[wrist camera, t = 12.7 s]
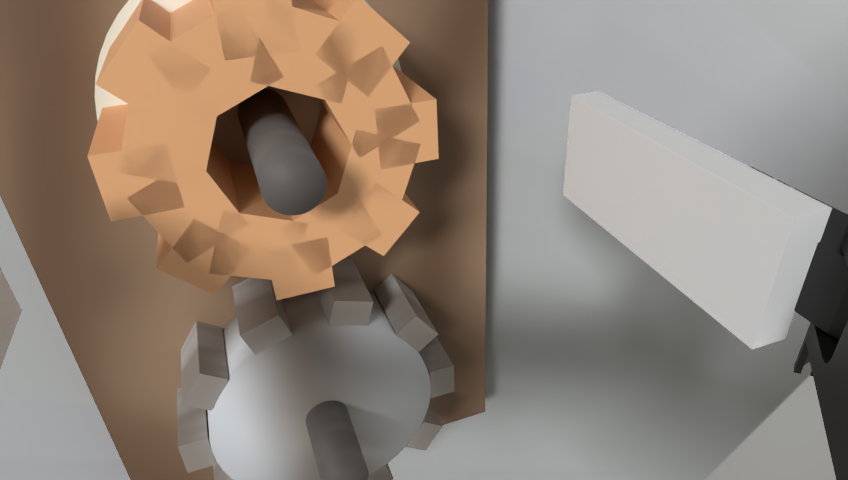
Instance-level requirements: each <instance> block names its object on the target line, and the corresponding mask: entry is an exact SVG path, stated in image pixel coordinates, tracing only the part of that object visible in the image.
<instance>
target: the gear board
mask: <svg viewBox="0 0 848 480" xmlns="http://www.w3.org/2000/svg"><path fill="white" fill-rule="evenodd" d="M140 1H141V0H0V196H1V198H2V200H3V203H4V205H5V207H6V209H7V211H8V213H9V216H10V218H11V220H12V222H13V224H14V227H15V229H16V231H17V233H18V235H19V237H20V240H21V242H22V244H23V246H24V248H25V250H26V253H27V255H28V257H29V259H30V261H31V264H32V266H33V268H34V270H35V272H36V274H37V277H38V279H39V281H40V283H41V285H42V287H43V290H44V292H45V294H46V296H47V298H48V301H49V303H50V305H51V307H52V309H53V311H54V314H55V316H56V318H57V320H58V322H59V325H60V327H61V329H62V331H63V333H64V335H65V338H66V340H67V342H68V344H69V346H70V348H71V351H72V353H73V355H74V357H75V359H76V362H77V364H78V366H79V368H80V370H81V372H82V375H83V377H84V379H85V381H86V383H87V385H88V388H89V390H90V392H91V394H92V396H93V399H94V401H95V403H96V405H97V407H98V409H99V412H100V414H101V416H102V418H103V420H104V422H105V425H106V427H107V429H108V431H109V433H110V436H111V438H112V440H113V442H114V444H115V446H116V449H117V451H118V453H119V455H120V457H121V460H122V462H123V464H124V466H125V468H126V470H127V473H128V475H129V477H130V479H131V480H392V479H393V477H392V474H391V471H390V469H389V466H388V462H389V461H391V460H392V459H393V458H394V457H395V456H397V455H398V454H399V453H400V452H401V451H402V450H403V449H404V448H405V447H410V448H416V449H421V450H426V449H427V447H428V446H429V445H430V443H431V442H432V440H433V439H434V438H435V436H436V435H437V433H438V432H439V430H440V429H441V428H442V425H444V424H447V423H451V422H454V421H457V420H460V419H463V418H466V417H469V416H472V415H475V414H479V413H482V412H485V343H486V217H487V92H488V0H363V1H364V2H366V3H367V4H368V5H369V6H370V7H371V8H372V9H373V10H375V11H376V12H377V13H378V14H379V15H380V16H381V17H382V18H383V19H385V20H386V21H387V22H388V23H389V24H390V25H391V26H392V27H393V28H395V29H396V30H397V31H398V32H399V33H400V34H401V35H402V36H404V37H405V38H406V39H407V40H408V41H409V42H410V43H409V45H408V46H407V47H406V49H405V50H404V51H403V52H402V54H401V55H400V56H399V58H398V59H397V60H396V62H395V63H394V64H393V65H392V66H394V67H396V68H397V69H398V70H399V71H401V72H402V73H403V74H404V75H406V76H407V77H408V78H410V79H411V80H412V81H413V82H415V83H416V84H417V85H419V86H420V87H421V88H422V89H424V90H425V91H426V92H428V93H429V94H430V95H431V96H433V97H434V98H435V99H436V100H437V127H438V154H439V159H434V160H429V161H424V162H419V163H414V166H413V169H412V172H411V175H410V178H409V181H408V184H407V187H406V190H405V194H406V195H407V196H408V198H409V199H410V200H411V201H412V203H413V204H414V205H415V207H416V208H417V209H418V210H419V212H420V213H419V214H418V215H417V216H416V217H415V219H414V220H413V221H412V222H411V224H410V225H409V226H408V227H407V228H406V230H405V231H404V232H403V233H402V235H401V236H400V237H399V238H398V239H397V241H396V242H395V243H394V244H393V245H392V247H391V248H390V249H389V250H388V252H387V253H386V254H385V255H384V256H382V255H381V254H379V253H377V252H376V251H374V250H372V249H371V248H369V247H367V246H366V245H365V246H364V247H362V248H360V249H359V250H357V251H355V252H354V253H352V254H351V255H349V256H347V257H346V258H344V259H342V260H341V261H339V262H338V263H336V264H334V265H333V266H332V271H333V278H334V284H335V287H330V288H326V289H322V290H318V291H314V292H310V293H306V294H302V295H297V296H293V297H289V298H285V299H281V300H276V296H275V292H274V288H273V284H272V281H271V280H268V279H258V278H248V277H238V276H230V277H229V279H228V280H227V281H226V282H225V284H224V285H223V286H222V288H221V289H220V290H219V292H218V293H217V294H216V295H214V294H211V293H209V292H207V291H205V290H202V289H200V288H198V287H196V286H194V285H191V284H189V283H187V282H185V281H183V280H180V279H178V278H176V277H174V276H171V275H169V274H167V273H165V272H163V271H160V270H158V269H157V250H158V232H157V231H156V230H155V228H154V227H153V226H152V225H151V224H150V223H149V222H148V221H147V220H146V219H145V218H144V217H143V216H137V217H132V218H127V219H122V220H116V221H111V220H110V218H109V215H108V212H107V209H106V207H105V204H104V201H103V198H102V196H101V193H100V190H99V187H98V185H97V182H96V179H95V176H94V173H93V171H92V168H91V165H90V162H89V160H88V157H87V156H88V152H89V149H90V146H91V143H92V139H93V136H94V133H95V130H96V127H97V123H98V120H99V117H100V114H101V110H102V108H103V107H110V106H117V105H124V104H128V103H126V102H124V101H122V100H121V99H119V98H117V97H116V96H114V95H112V94H111V93H109V92H107V91H106V90H104V89H102V88H101V87H99V86H97V85H96V82H97V79H98V77H99V74H100V72H101V69H102V66H103V64H104V61H105V58H106V56H107V53H108V51H109V48H110V46H111V45H112V43H113V42H114V40H115V39H116V37H117V36H118V34H119V33H120V31H121V30H122V28H123V27H124V25H125V24H126V22H127V21H128V19H129V18H130V16H131V15H132V13H133V12H134V10H135V9H136V7H137V6H138V4H139V3H140ZM152 1H154V2H155V3H157V4H158V5H159V6H161V7H162V8H164V9H165V10H166V11H168V12H169V13H171V12H173V11H175V10H176V9H178V8H180V7H181V6H183V5H185V4H187V3H188V2H190V1H192V0H152ZM321 106H322V103H321V101H320V99H319V98H316V97H312V96H308V95H304V94H299V93H295V92H291V91H287V90H283V89H279V88H275V87H271V86H267V87H266V88H264V89H262V90H261V91H259V92H257V93H255V94H254V95H252V96H250V97H249V98H247V99H245V100H244V101H242V102H240V103H239V104H237V105H235V106H234V107H232V108H230V109H229V110H227V111H225V112H224V113H222V114H220V115H218V116H217V118H216V123H215V128H214V134H213V139H212V140H213V141H214V142H215V144H216V145H217V146H218V148H219V149H220V150H221V152H222V153H223V154H224V156H225V157H226V158H227V160H230V161H235V162H241V163H246V164H252V165H253V168H254V171H255V174H256V178H257V181H258V184H259V187H260V191H261V194H262V197H263V199H264V201H265V202H266V204H267V205H268V206H269V207H270V208H271V209H273V210H274V211H276V212H278V213H281V214H284V215H300V214H304V213H306V212H309V211H310V210H312V209H314V208H315V207H316V206H317V205H318V204H319V203H320V202H321V200H322V199H323V197H324V195H325V192H326V188H327V179H326V175H325V172H324V170H323V168H322V167H321V165H320V163H319V161H318V159H317V158H316V156H315V154H314V152H313V150H312V149H311V147H310V146H311V144H312V140H313V136H314V132H315V129H316V125H317V121H318V117H319V113H320V110H321Z"/></svg>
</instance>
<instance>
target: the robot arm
mask: <svg viewBox="0 0 848 480" xmlns="http://www.w3.org/2000/svg"><path fill="white" fill-rule="evenodd" d="M563 195H564V196H565V197H566V198H567V199H569V200H570V201H571V202H572V203H573V204H575V205H576V206H577V207H578V208H580V209H581V210H582V211H583V212H584V213H586V214H587V215H588V216H589V217H591V218H592V219H593V220H594V221H595V222H597V223H598V224H599V225H600V226H602V227H603V228H604V229H605V230H606V231H608V232H609V233H610V234H611V235H613V236H614V237H615V238H616V239H618V240H619V241H620V242H621V243H622V244H624V245H625V246H626V247H627V248H629V249H630V250H631V251H632V252H633V253H635V254H636V255H637V256H638V257H640V258H641V259H642V260H643V261H644V262H646V263H647V264H648V265H649V266H651V267H652V268H653V269H654V270H655V271H657V272H658V273H659V274H660V275H662V276H663V277H664V278H665V279H666V280H668V281H669V282H670V283H671V284H673V285H674V286H675V287H676V288H677V289H679V290H680V291H681V292H682V293H684V294H685V295H686V296H687V297H688V298H690V299H691V300H692V301H693V302H695V303H696V304H697V305H698V306H699V307H701V308H702V309H703V310H704V311H706V312H707V313H708V314H709V315H710V316H712V317H713V318H714V319H715V320H717V321H718V322H719V323H720V324H721V325H723V326H724V327H725V328H726V329H728V330H729V331H730V332H731V333H732V334H734V335H735V336H736V337H737V338H739V339H740V340H741V341H742V342H743V343H745V344H746V345H747V346H748V347H750V348H751V349H752V350H753V349H756V348H759V347H762V346H765V345H768V344H771V343H774V342H778V341H781V340H784V339H786V336H787V333H788V330H789V328H790V325H791V322H792V319H793V316H794V314H795V311H796V312H797V313H798V314H800V315H801V316H803V317H804V318H806V319H807V320H808V321H810V322H811V323H810V326H809V328H808V331H807V334H806V336H805V339H804V342H803V344H802V347H801V349H800V352H799V355H798V357H797V360H796V363H795V367H794V372H795V373H801V371H802V368H803V366H804V365H805V364H807V363H808V362H810V363H811V368H812V371H811V374H810V376H813V377H814V381H815V386H816V390H817V395H818V399H819V403H820V408H821V412H822V417H823V422H824V426H825V431H826V435H827V440H828V444H829V448H830V453H831V457H832V462H833V466H834V471H835V475H836V480H848V215H847V214H845V213H843V212H841V211H839V210H837V209H835V208H833V207H831V206H829V205H827V204H825V203H823V202H821V201H819V200H817V199H815V198H813V197H811V196H809V195H807V194H805V193H803V192H801V191H799V190H797V189H795V188H794V189H793V188H791V187H790V186H789V185H787V184H785V183H783V182H781V181H779V180H775V179H773V177H771V176H769V175H767V174H765V173H763V172H761V171H759V170H757V169H755V168H753V167H750V166H747V165H745V164H743V163H741V162H739V161H737V160H735V159H733V158H731V157H729V156H727V155H725V154H723V153H721V152H719V151H717V150H715V149H713V148H711V147H709V146H707V145H705V144H703V143H701V142H699V141H697V140H695V139H693V138H691V137H689V136H687V135H685V134H683V133H682V132H680V131H678V130H676V129H674V128H672V127H670V126H668V125H666V124H664V123H662V122H660V121H658V120H656V119H654V118H652V117H650V116H648V115H646V114H644V113H642V112H640V111H638V110H636V109H634V108H632V107H630V106H628V105H626V104H624V103H622V102H620V101H618V100H616V99H614V98H612V97H610V96H608V95H606V94H604V93H602V92H600V91H595V92H589V93H583V94H577V95H572V97H571V108H570V119H569V131H568V142H567V153H566V165H565V176H564V187H563ZM21 311H22V310H21V308H20V306H19V304H18V302H17V300H16V298H15V296H14V294H13V292H12V290H11V288H10V286H9V284H8V282H7V280H6V278H5V276H4V274H3V272H2V270H1V268H0V368H1V365H2V363H3V360H4V357H5V354H6V352H7V349H8V346H9V343H10V341H11V338H12V335H13V333H14V330H15V327H16V324H17V322H18V319H19V316H20V313H21Z"/></svg>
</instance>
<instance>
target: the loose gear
mask: <svg viewBox="0 0 848 480" xmlns="http://www.w3.org/2000/svg"><path fill="white" fill-rule="evenodd" d="M409 43H410V42H409V41H408V40H407V39H406V38H405V37H404V36H402V35H401V34H400V33H399V32H398V31H397V30H396V29H395V28H393V27H392V26H391V25H390V24H389V23H388V22H387V21H386V20H385V19H383V18H382V17H381V16H380V15H379V14H378V13H377V12H376V11H375V10H373V9H372V8H371V7H370V6H369V5H368V4H367V3H366V2H364V1H363V0H192V1H190V2H188V3H187V4H185V5H183V6H181V7H180V8H178V9H176V10H175V11H173V12H171V13H169V12H168V11H166V10H165V9H164V8H162V7H161V6H159V5H158V4H157V3H155V2H154V1H152V0H141V1H140V3H139V4H138V6H137V7H136V9H135V10H134V12H133V13H132V15H131V16H130V18H129V19H128V21H127V22H126V24H125V25H124V27H123V28H122V30H121V31H120V33H119V34H118V36H117V37H116V39H115V40H114V42H113V43H112V45H111V46H110V48H109V51H108V53H107V56H106V58H105V61H104V64H103V66H102V69H101V72H100V74H99V77H98V79H97V82H96V85H97V86H99V87H101V88H102V89H104V90H106V91H107V92H109V93H111V94H112V95H114V96H116V97H117V98H119V99H121V100H122V101H124V102H126V103H128V104H124V105H117V106H110V107H103V108H102V110H101V114H100V117H99V120H98V123H97V127H96V130H95V133H94V136H93V139H92V143H91V146H90V149H89V152H88V156H87V157H88V160H89V162H90V165H91V168H92V171H93V173H94V176H95V179H96V182H97V185H98V187H99V190H100V193H101V196H102V198H103V201H104V204H105V207H106V209H107V212H108V215H109V218H110V220H111V221H116V220H122V219H127V218H132V217H137V216H143V217H144V218H145V219H146V220H147V221H148V222H149V223H150V224H151V225H152V226H153V227H154V228H155V230H156V231H157V232H158V250H157V269H158V270H160V271H163V272H165V273H167V274H169V275H171V276H174V277H176V278H178V279H180V280H183V281H185V282H187V283H189V284H191V285H194V286H196V287H198V288H200V289H202V290H205V291H207V292H209V293H211V294H214V295H216V294H217V293H218V292H219V290H220V289H221V288H222V286H223V285H224V284H225V282H226V281H227V280H228V279H229V277H230V276H238V277H248V278H258V279H268V280H271V281H272V284H273V288H274V292H275V296H276V300H281V299H285V298H289V297H293V296H297V295H302V294H306V293H310V292H314V291H318V290H322V289H326V288H330V287H335V284H334V278H333V271H332V266H333V265H334V264H336V263H338V262H339V261H341V260H342V259H344V258H346V257H347V256H349V255H351V254H352V253H354V252H355V251H357V250H359V249H360V248H362V247H364V246H365V245H366V246H367V247H369V248H371V249H372V250H374V251H376V252H377V253H379V254H381V255H382V256H384V255H385V254H386V253H387V252H388V250H389V249H390V248H391V247H392V245H393V244H394V243H395V242H396V241H397V239H398V238H399V237H400V236H401V235H402V233H403V232H404V231H405V230H406V228H407V227H408V226H409V225H410V224H411V222H412V221H413V220H414V219H415V217H416V216H417V215H418V214H419V213H420V212H419V210H418V209H417V208H416V207H415V205H414V204H413V203H412V201H411V200H410V199H409V198H408V196H407V195H406V194H405V190H406V187H407V184H408V181H409V178H410V175H411V172H412V169H413V166H414V163H419V162H424V161H429V160H434V159H439V154H438V127H437V100H436V99H435V98H434V97H433V96H431V95H430V94H429V93H428V92H426V91H425V90H424V89H422V88H421V87H420V86H419V85H417V84H416V83H415V82H413V81H412V80H411V79H410V78H408V77H407V76H406V75H404V74H403V73H402V72H401V71H399V70H398V69H397V68H396V67H394V66H392V65H393V64H394V63H395V62H396V60H397V59H398V58H399V56H400V55H401V54H402V52H403V51H404V50H405V49H406V47H407V46H408V45H409ZM267 86H271V87H275V88H279V89H283V90H287V91H291V92H295V93H299V94H304V95H308V96H312V97H316V98H319V99H320V101H321V103H322V106H321V110H320V113H319V117H318V121H317V125H316V129H315V132H314V136H313V140H312V144H311V146H310V147H311V149H312V150H313V152H314V154H315V156H316V158H317V159H318V161H319V163H320V165H321V167H322V168H323V170H324V172H325V175H326V179H327V188H326V192H325V195H324V197H323V199H322V200H321V202H320V203H319V204H318V205H317V206H316V207H315V208H314V209H312V210H310V211H309V212H306V213H304V214H300V215H284V214H281V213H278V212H276V211H274V210H273V209H271V208H270V207H269V206H268V205H267V204H266V202H265V201H264V199H263V197H262V194H261V191H260V187H259V184H258V181H257V178H256V174H255V171H254V168H253V165H252V164H246V163H241V162H235V161H230V160H227V158H226V157H225V156H224V154H223V153H222V152H221V150H220V149H219V148H218V146H217V145H216V144H215V142H214V141H213V140H212V139H213V134H214V128H215V123H216V118H217V116H218V115H220V114H222V113H224V112H225V111H227V110H229V109H230V108H232V107H234V106H235V105H237V104H239V103H240V102H242V101H244V100H245V99H247V98H249V97H250V96H252V95H254V94H255V93H257V92H259V91H261V90H262V89H264V88H266V87H267Z"/></svg>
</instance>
